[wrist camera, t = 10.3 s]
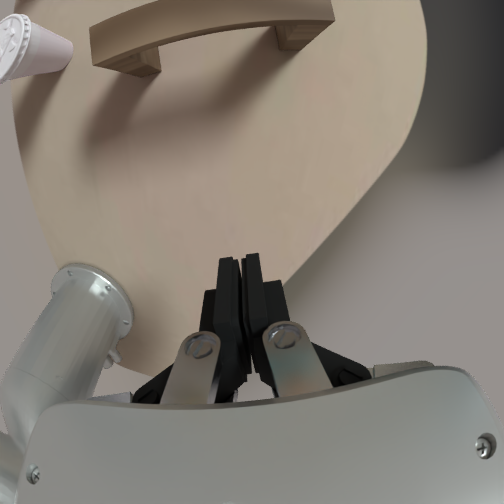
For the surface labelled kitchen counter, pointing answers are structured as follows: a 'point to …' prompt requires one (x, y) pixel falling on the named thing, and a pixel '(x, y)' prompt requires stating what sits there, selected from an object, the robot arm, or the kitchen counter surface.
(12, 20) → the smoothie
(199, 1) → the bridge
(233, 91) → the kitchen counter surface
